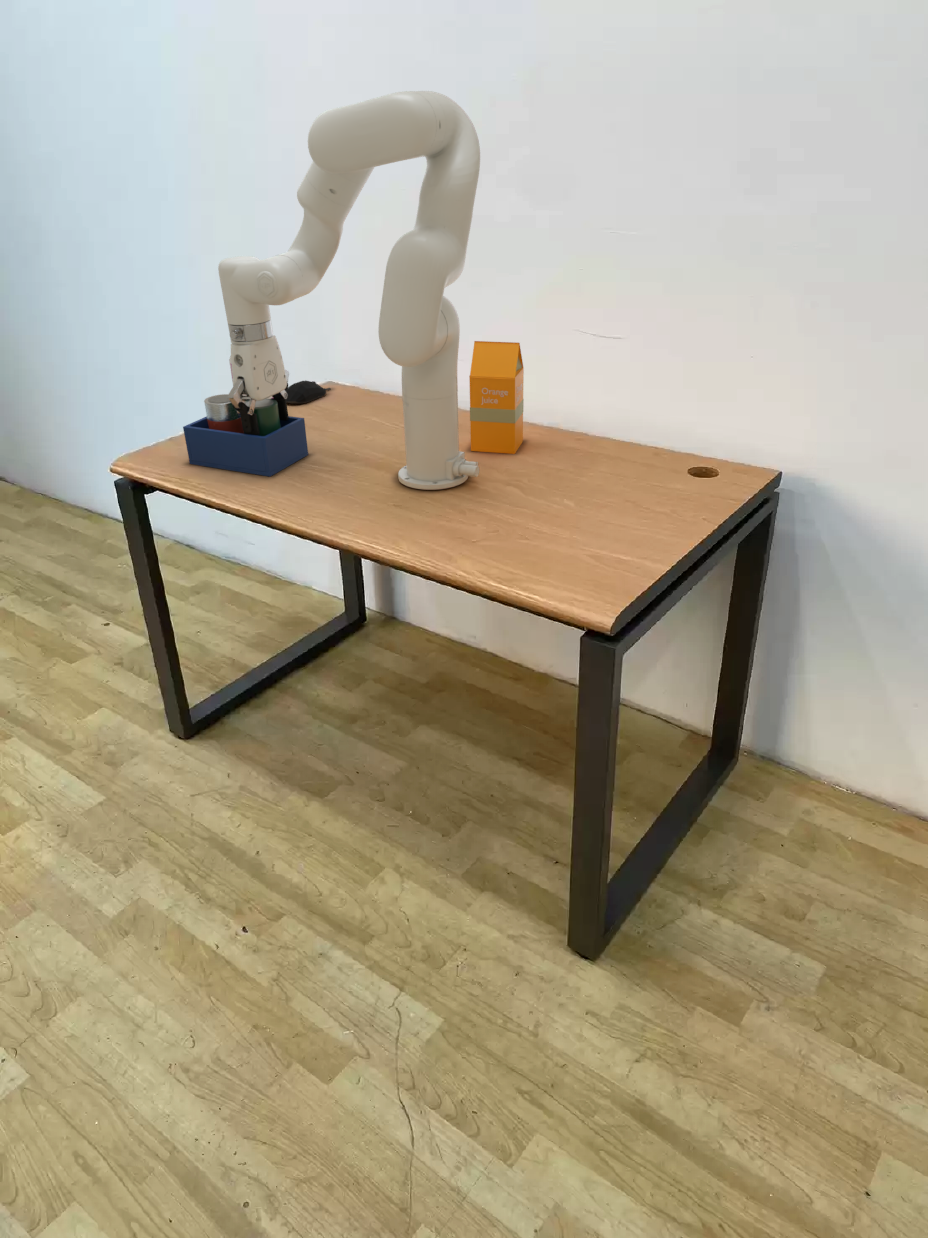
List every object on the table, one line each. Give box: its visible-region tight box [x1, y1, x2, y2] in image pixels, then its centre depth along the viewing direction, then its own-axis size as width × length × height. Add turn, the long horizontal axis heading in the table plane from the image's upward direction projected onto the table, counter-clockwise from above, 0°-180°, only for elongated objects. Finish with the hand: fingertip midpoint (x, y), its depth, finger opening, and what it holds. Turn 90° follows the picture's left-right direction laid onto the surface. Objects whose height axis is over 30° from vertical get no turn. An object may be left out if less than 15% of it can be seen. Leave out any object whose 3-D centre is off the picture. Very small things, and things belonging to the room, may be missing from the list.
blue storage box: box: [182, 415, 309, 478], centre depth 171 cm, size 19×13×7 cm
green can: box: [245, 399, 281, 436], centre depth 168 cm, size 7×7×11 cm
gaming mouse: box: [286, 379, 331, 405], centre depth 208 cm, size 6×15×4 cm, turn 146°
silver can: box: [203, 393, 244, 434], centre depth 172 cm, size 7×7×11 cm
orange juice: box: [469, 340, 525, 455], centre depth 171 cm, size 8×9×20 cm
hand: (266, 426), depth 168 cm, fingers open, 8 cm apart
